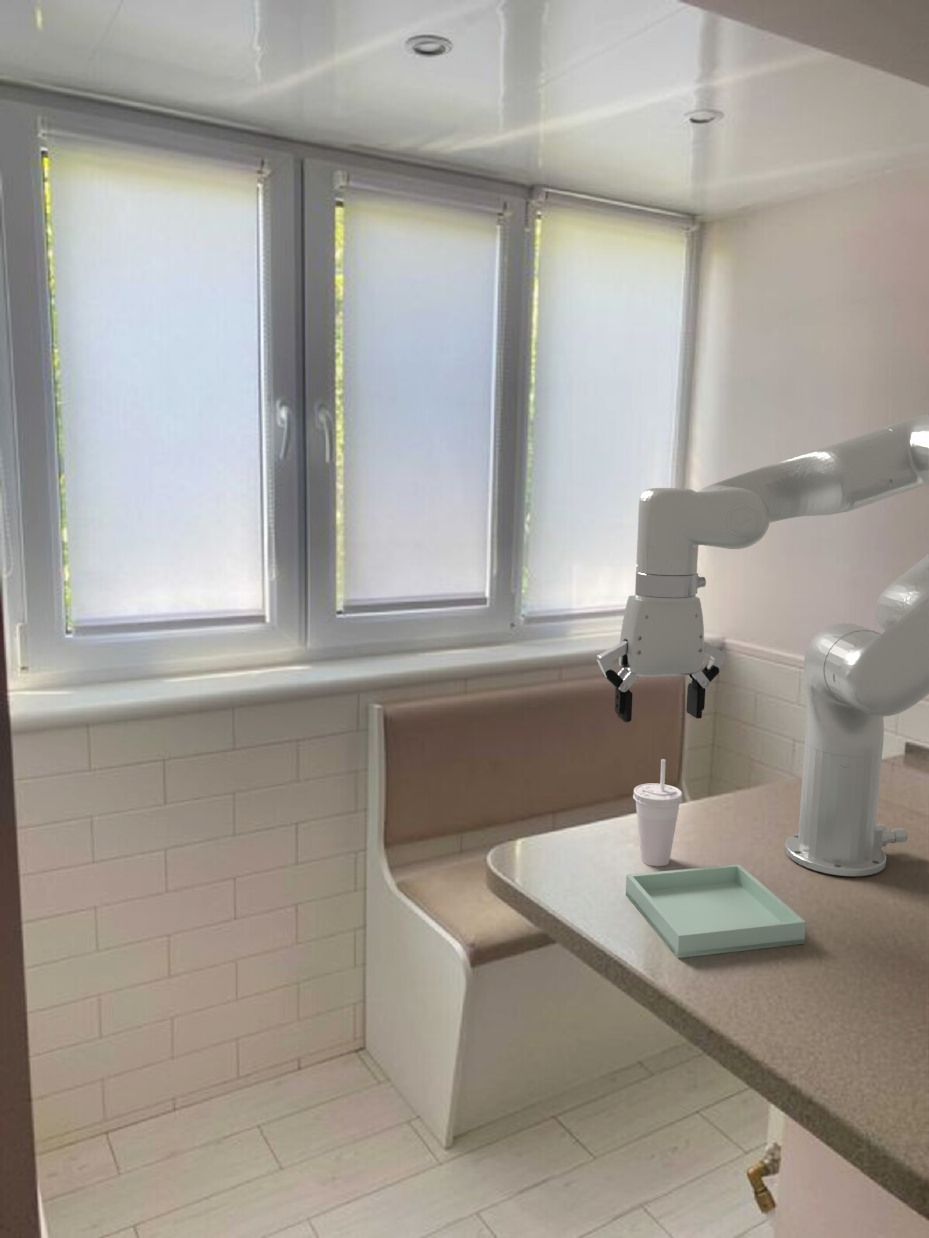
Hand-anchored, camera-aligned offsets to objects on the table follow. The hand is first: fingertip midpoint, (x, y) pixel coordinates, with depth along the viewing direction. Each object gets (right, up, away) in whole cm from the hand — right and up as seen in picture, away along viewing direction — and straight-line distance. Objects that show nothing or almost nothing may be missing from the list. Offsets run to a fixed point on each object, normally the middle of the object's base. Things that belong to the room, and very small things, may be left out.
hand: (659, 717), depth 121 cm
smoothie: (0, -20, +4) cm, 20 cm away
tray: (+3, -22, -12) cm, 25 cm away
